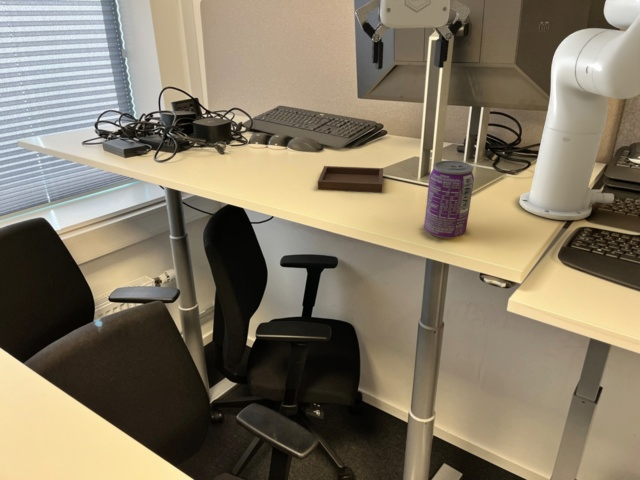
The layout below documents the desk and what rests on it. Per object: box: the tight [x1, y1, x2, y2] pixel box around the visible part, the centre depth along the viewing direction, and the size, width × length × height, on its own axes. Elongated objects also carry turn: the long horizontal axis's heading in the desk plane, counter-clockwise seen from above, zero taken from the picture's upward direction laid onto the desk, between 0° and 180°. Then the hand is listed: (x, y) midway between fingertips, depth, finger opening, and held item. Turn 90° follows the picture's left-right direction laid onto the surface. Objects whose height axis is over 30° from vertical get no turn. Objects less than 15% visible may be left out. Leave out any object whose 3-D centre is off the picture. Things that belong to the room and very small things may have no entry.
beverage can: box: [423, 159, 475, 239], centre depth 79 cm, size 7×7×12 cm
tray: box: [317, 165, 384, 193], centre depth 103 cm, size 14×10×2 cm
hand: (408, 67), depth 74 cm, fingers open, 9 cm apart
